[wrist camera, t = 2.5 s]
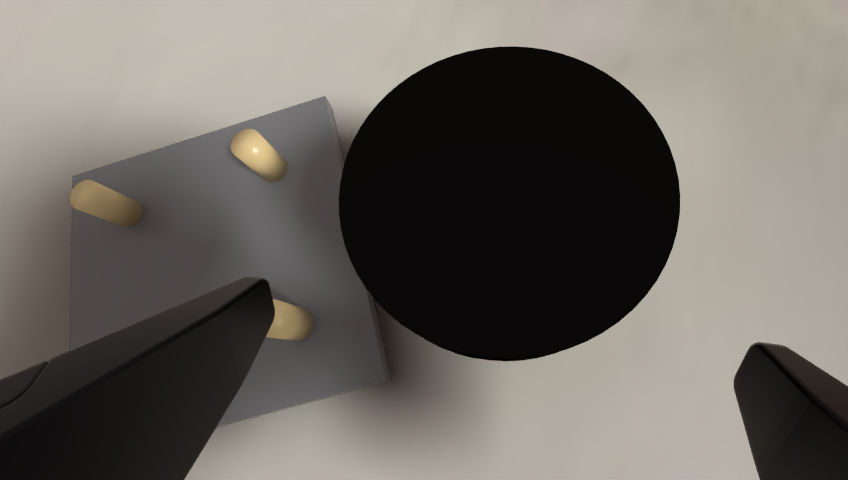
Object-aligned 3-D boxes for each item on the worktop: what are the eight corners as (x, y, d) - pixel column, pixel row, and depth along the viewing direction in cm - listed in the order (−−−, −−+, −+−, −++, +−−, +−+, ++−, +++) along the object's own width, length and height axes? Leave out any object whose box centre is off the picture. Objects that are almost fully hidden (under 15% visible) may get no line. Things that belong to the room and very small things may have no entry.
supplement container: (386, 275, 19) (277, 179, 9) (498, 181, 20) (507, -6, 10) (487, 398, 17) (486, 444, 7) (609, 289, 18) (765, 192, 8)
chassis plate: (391, 380, 18) (368, 383, 14) (89, 461, 19) (3, 482, 15) (331, 107, 22) (304, 62, 19) (89, 184, 23) (22, 153, 20)
